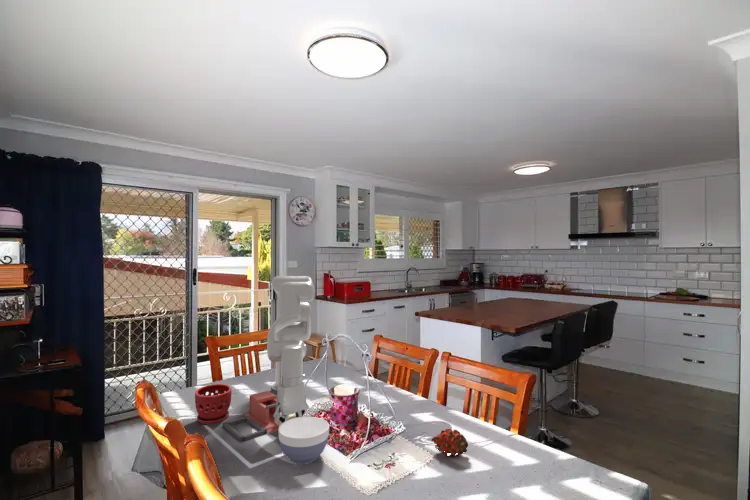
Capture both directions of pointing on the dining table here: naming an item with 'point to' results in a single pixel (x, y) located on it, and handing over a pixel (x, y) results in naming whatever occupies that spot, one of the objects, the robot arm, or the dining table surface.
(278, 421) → the cream chunky block
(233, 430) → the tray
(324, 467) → the dining table surface
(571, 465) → the dining table surface
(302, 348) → the robot arm
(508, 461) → the dining table surface
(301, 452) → the bowl
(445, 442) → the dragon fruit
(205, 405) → the plant pot
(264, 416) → the dispenser
